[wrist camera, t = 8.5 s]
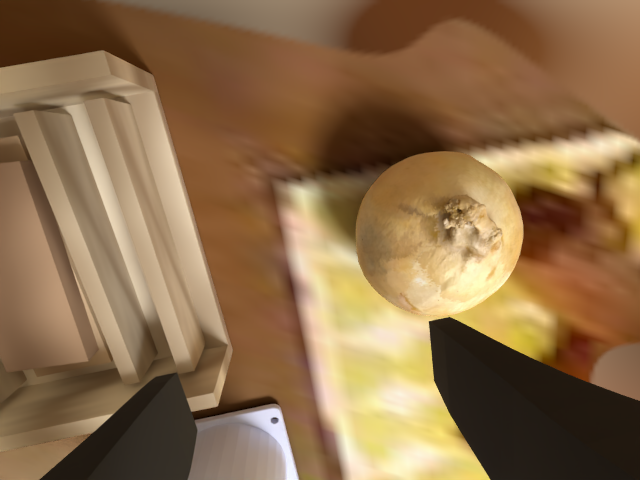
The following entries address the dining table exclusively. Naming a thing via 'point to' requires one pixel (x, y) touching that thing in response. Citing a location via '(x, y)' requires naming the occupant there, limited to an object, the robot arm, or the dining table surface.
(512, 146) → the dining table surface
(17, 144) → the offcut lower
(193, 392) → the rack
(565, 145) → the dining table surface
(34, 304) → the offcut upper
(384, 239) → the onion
